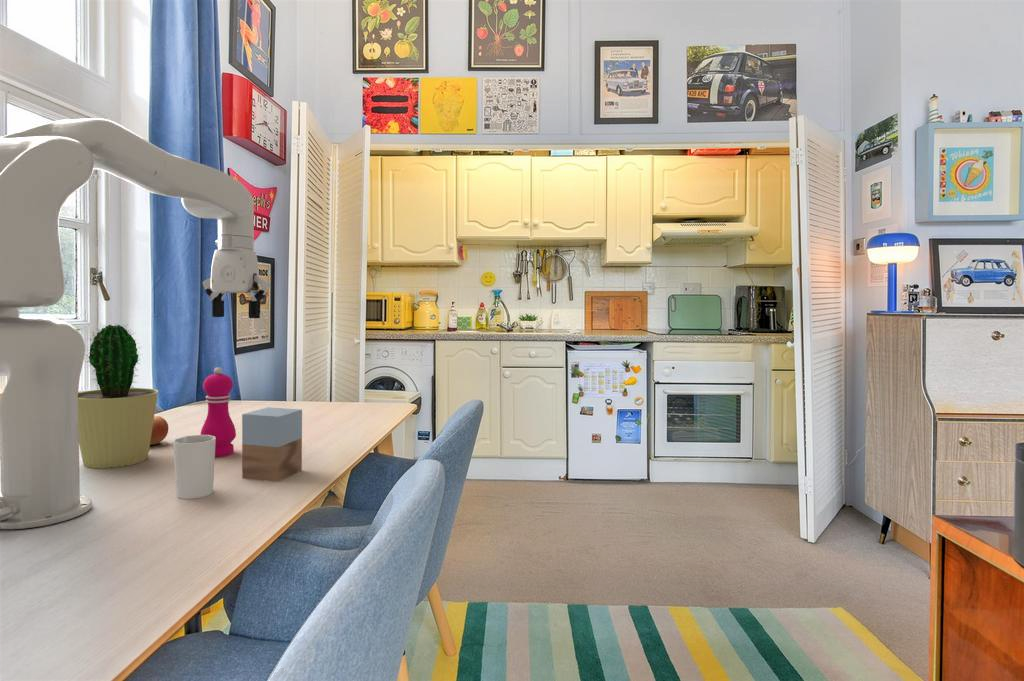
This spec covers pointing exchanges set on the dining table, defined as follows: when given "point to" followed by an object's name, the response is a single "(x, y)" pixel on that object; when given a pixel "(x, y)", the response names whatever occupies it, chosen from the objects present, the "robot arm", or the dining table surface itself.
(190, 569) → the dining table surface
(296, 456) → the walnut block
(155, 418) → the apple
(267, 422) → the slate block
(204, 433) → the pepper mill
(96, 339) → the potted cactus
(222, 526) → the dining table surface
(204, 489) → the white cup
